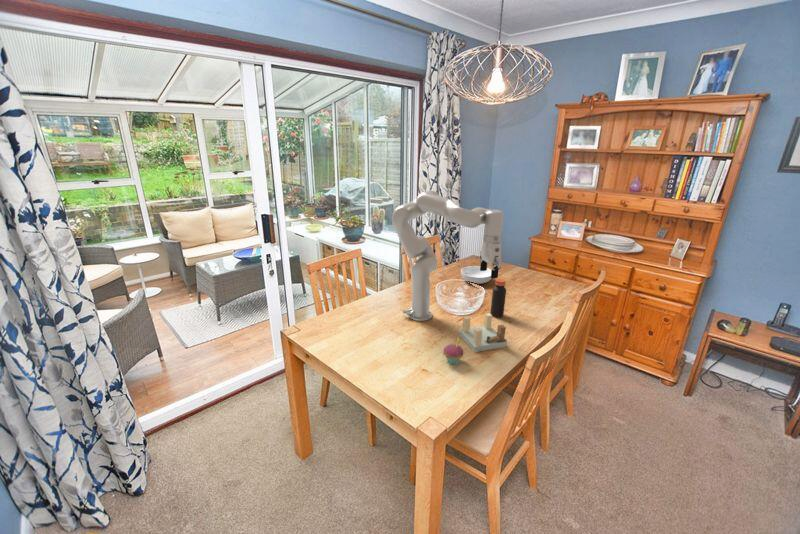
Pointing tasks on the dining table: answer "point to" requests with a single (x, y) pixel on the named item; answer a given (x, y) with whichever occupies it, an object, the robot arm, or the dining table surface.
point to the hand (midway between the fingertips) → (488, 274)
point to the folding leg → (498, 334)
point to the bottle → (498, 298)
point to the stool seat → (480, 335)
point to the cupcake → (453, 353)
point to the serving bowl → (476, 274)
